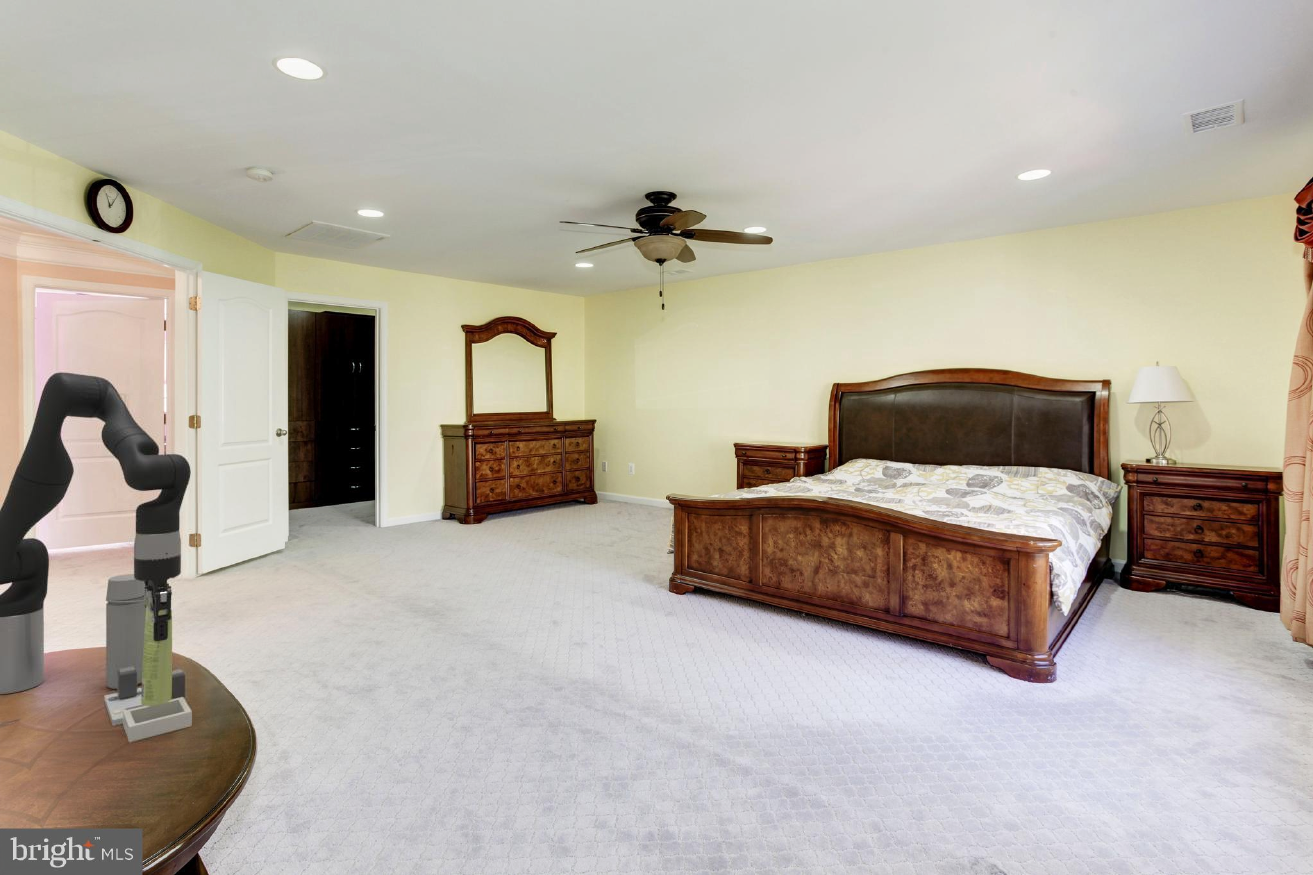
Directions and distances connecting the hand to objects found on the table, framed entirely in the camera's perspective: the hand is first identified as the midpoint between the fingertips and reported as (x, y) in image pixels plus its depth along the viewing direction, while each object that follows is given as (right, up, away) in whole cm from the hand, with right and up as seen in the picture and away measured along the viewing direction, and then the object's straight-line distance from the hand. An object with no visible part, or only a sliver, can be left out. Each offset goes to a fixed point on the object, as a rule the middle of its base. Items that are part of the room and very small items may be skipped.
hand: (157, 635), depth 132 cm
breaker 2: (-4, -16, +10) cm, 20 cm away
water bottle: (-21, -17, +20) cm, 34 cm away
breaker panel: (-10, -18, +9) cm, 23 cm away
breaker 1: (-15, -16, +11) cm, 24 cm away
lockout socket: (-1, -19, +1) cm, 19 cm away
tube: (-1, -14, +1) cm, 14 cm away
